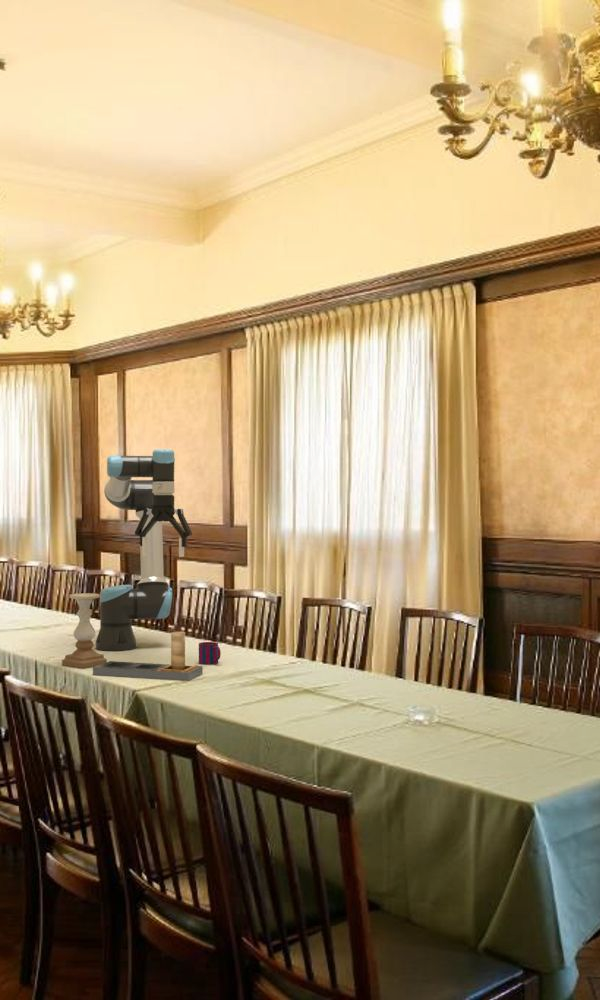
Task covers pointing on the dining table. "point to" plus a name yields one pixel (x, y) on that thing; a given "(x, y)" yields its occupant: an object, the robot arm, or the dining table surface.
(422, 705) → the dining table surface
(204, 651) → the mug
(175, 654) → the peg
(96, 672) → the grey peg board
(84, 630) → the candle holder
